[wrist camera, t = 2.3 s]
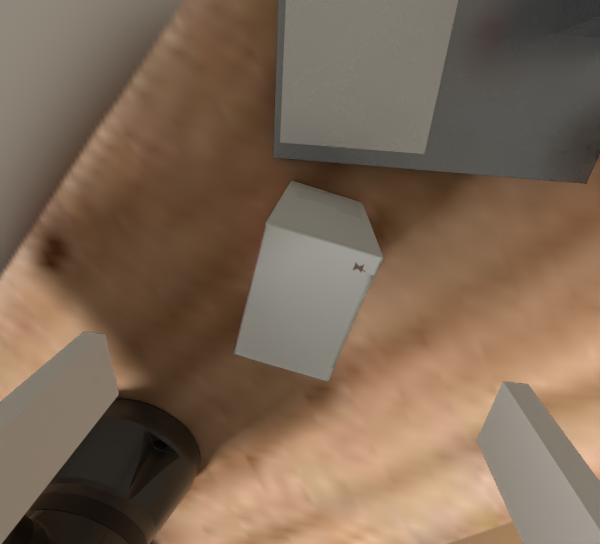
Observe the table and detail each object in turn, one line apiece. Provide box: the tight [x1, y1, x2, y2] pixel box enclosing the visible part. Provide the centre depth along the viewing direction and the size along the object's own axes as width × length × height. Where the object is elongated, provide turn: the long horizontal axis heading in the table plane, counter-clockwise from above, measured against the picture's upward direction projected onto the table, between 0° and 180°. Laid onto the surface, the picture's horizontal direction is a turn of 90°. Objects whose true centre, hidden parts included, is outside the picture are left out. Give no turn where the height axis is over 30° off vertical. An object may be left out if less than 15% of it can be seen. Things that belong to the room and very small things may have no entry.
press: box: [273, 0, 600, 184], centre depth 16 cm, size 20×14×8 cm
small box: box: [233, 181, 383, 381], centre depth 21 cm, size 8×6×10 cm
